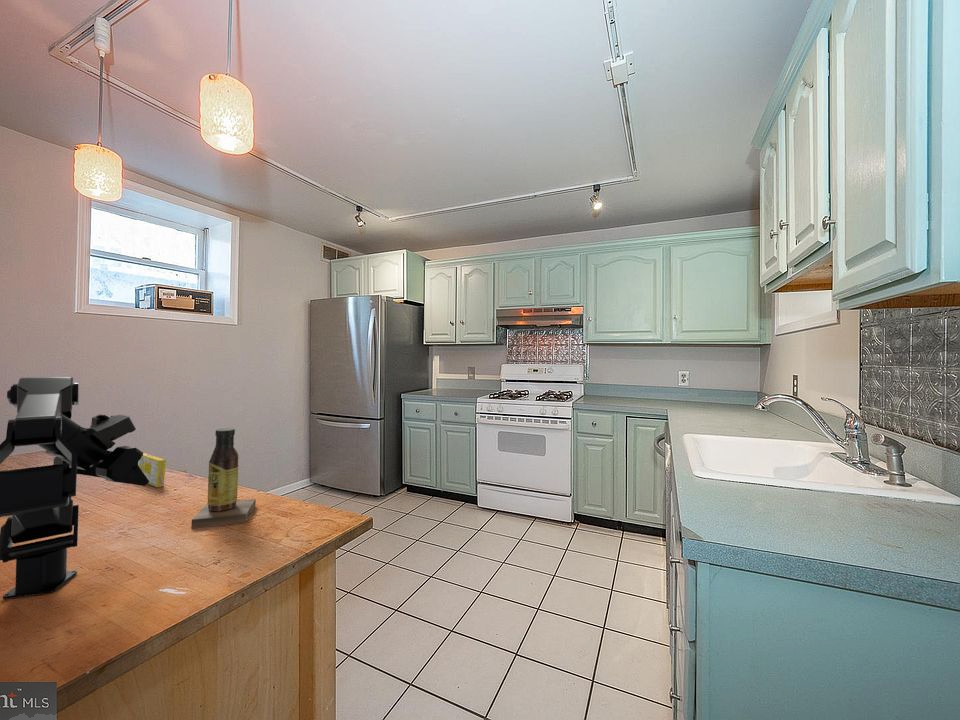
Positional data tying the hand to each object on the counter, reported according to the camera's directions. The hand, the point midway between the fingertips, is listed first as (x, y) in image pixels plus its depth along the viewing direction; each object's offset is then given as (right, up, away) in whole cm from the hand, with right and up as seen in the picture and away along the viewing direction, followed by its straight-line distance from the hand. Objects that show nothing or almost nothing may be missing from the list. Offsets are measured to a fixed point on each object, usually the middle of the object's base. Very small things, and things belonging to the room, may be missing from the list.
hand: (133, 480), depth 81 cm
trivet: (+9, -14, +16) cm, 23 cm away
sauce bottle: (+8, -12, +16) cm, 22 cm away
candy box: (-31, -14, +41) cm, 53 cm away
